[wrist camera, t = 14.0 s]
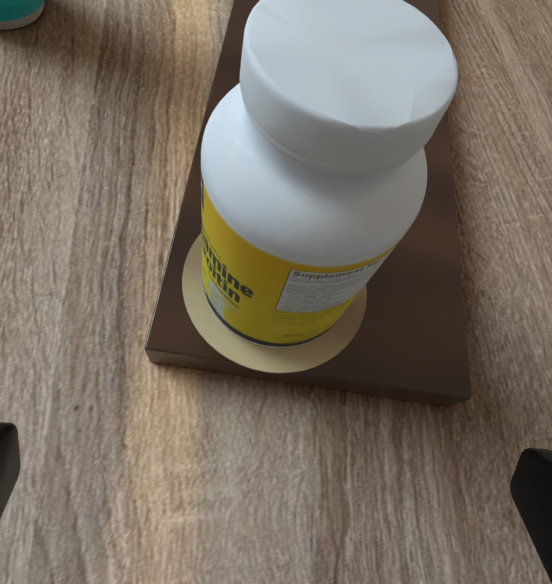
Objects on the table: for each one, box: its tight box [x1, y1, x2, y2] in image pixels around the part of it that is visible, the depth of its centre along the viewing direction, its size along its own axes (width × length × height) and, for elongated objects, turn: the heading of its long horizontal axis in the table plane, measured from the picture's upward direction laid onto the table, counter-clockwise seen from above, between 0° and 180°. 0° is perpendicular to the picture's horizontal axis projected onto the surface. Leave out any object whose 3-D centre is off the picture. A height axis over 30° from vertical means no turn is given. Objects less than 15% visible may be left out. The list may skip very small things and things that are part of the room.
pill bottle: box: [201, 0, 458, 348], centre depth 14 cm, size 6×6×12 cm
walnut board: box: [145, 0, 471, 407], centre depth 26 cm, size 34×14×2 cm, turn 173°
